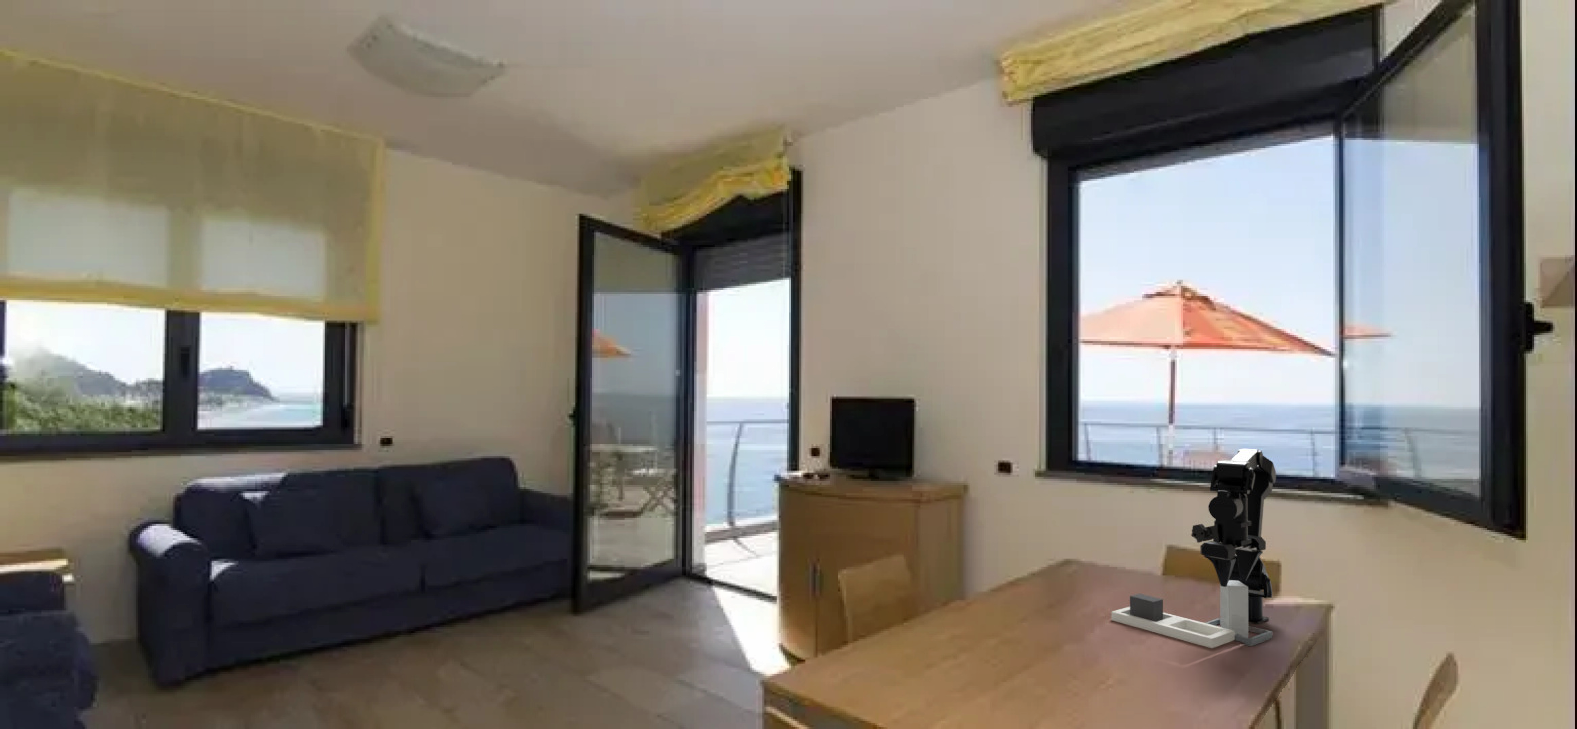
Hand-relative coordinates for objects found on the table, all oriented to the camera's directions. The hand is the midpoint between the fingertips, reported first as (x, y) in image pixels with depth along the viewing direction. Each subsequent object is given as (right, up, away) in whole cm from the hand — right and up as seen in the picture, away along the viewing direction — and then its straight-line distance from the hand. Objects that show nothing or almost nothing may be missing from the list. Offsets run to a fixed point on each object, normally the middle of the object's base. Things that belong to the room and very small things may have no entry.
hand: (1233, 583), depth 180 cm
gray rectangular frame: (0, -12, 0) cm, 12 cm away
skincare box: (0, -12, 0) cm, 12 cm away
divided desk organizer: (-14, -12, +2) cm, 18 cm away
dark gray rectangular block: (-17, -11, +7) cm, 22 cm away
